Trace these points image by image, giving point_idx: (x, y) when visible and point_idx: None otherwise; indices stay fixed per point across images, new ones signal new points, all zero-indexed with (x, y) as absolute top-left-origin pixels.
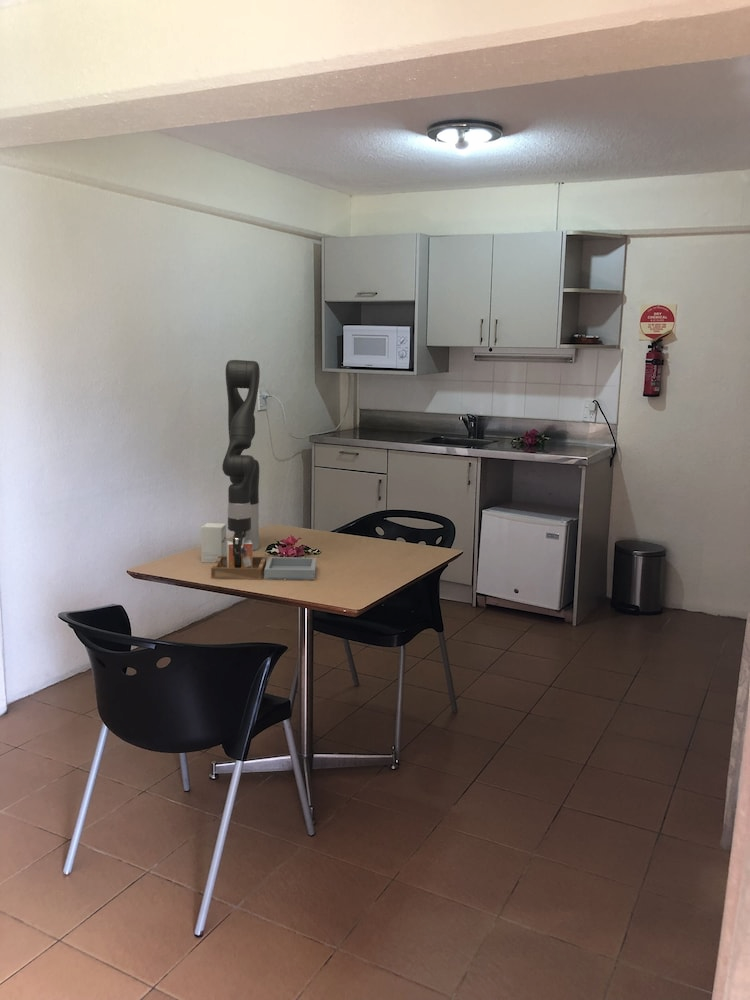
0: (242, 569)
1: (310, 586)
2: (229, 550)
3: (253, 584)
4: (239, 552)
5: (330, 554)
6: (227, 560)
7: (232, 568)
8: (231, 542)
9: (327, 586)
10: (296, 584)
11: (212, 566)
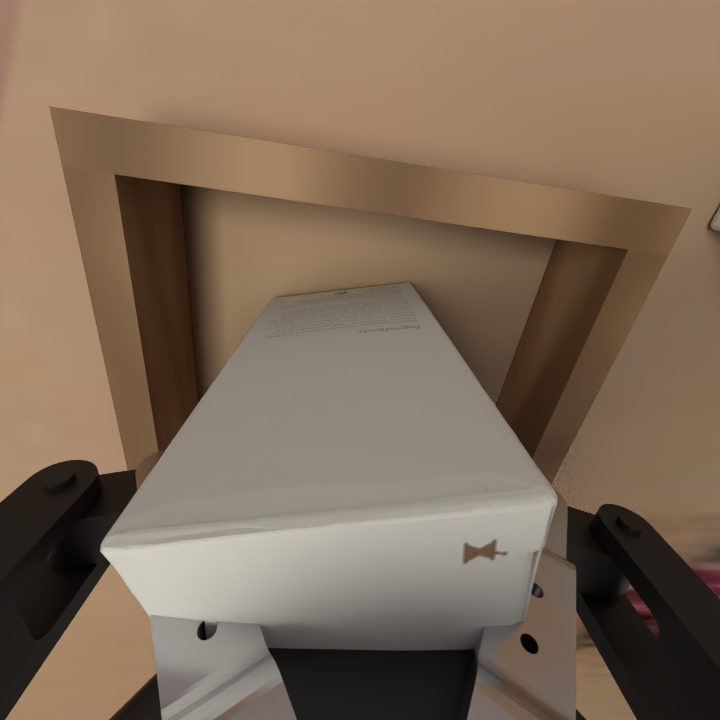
0: (126, 445)
1: (109, 648)
2: (179, 447)
3: (65, 456)
4: (30, 578)
5: (617, 700)
6: (324, 329)
7: (117, 369)
8: (316, 590)
9: (126, 684)
10: (128, 614)
11: (154, 124)
